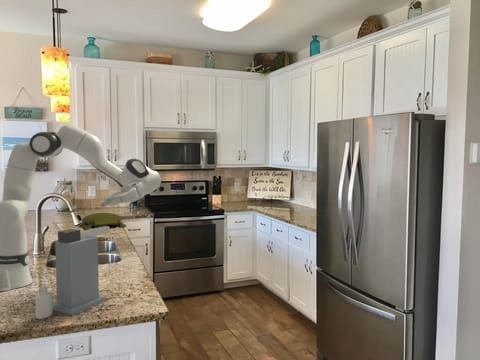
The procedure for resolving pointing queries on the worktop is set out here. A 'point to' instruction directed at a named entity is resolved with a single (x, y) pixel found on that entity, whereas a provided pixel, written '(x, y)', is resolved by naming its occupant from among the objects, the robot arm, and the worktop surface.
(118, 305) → the worktop surface
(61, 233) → the knobbed shaft
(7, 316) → the worktop surface
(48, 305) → the eye dropper bottle
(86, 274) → the stand
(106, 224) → the olive green cushion
